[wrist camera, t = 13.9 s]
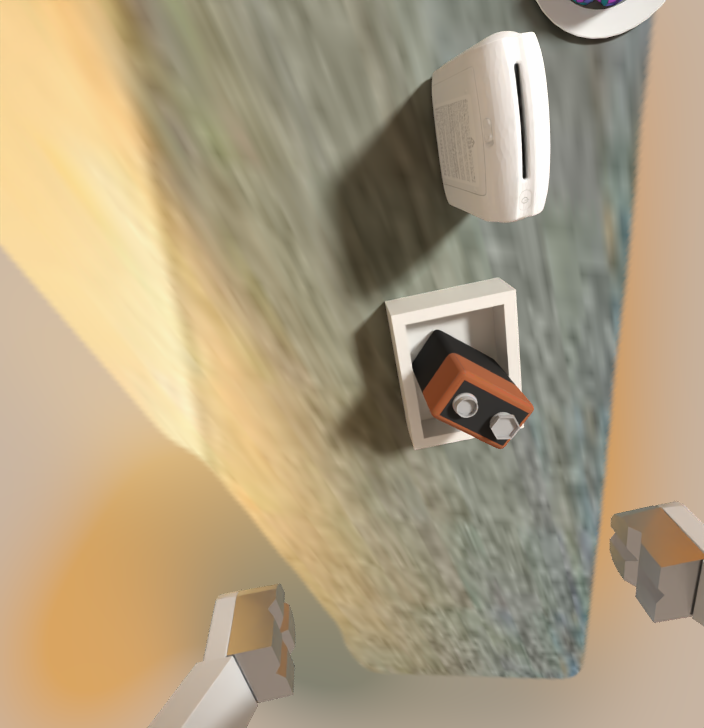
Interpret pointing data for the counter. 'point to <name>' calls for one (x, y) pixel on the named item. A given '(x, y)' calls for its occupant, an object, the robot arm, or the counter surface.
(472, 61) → the photo printer
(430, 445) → the trough
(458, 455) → the counter surface
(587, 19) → the pudding
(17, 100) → the counter surface
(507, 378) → the battery
